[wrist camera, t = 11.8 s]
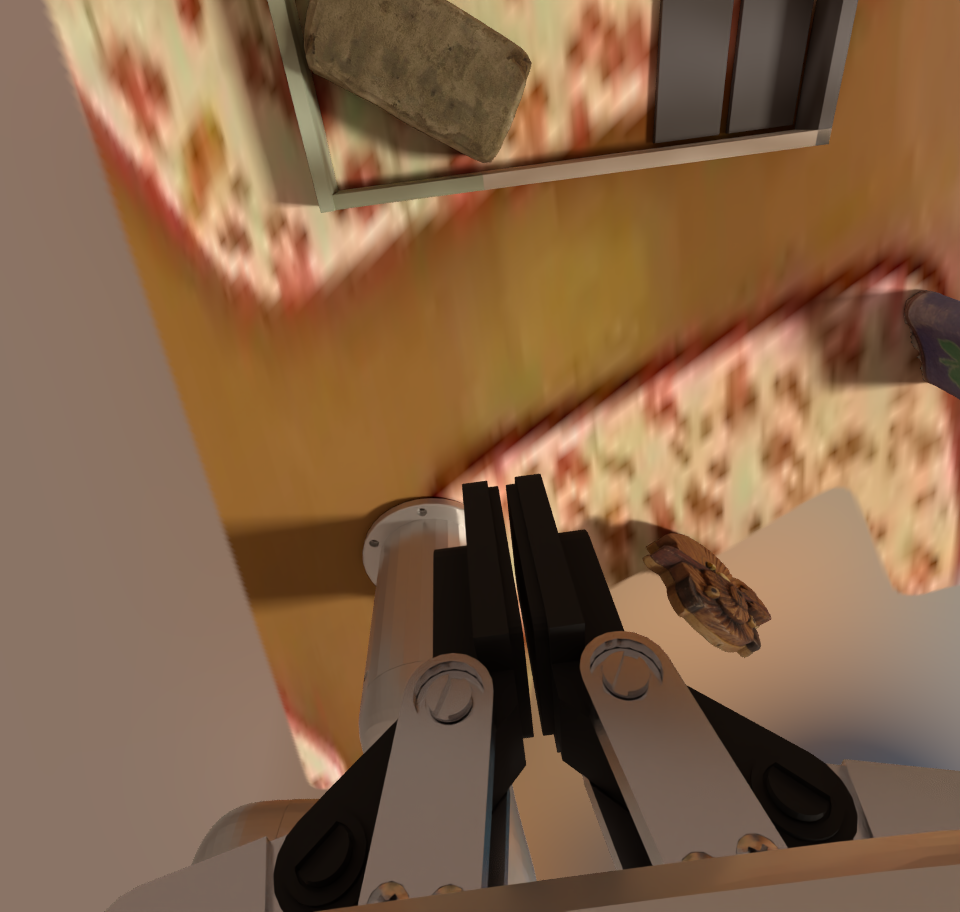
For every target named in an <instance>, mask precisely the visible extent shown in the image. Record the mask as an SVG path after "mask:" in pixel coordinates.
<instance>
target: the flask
mask: <svg viewBox="0 0 960 912" xmlns="http://www.w3.org/2000/svg"><path fill="white" fill-rule="evenodd" d="M921 292H923V293H921ZM921 292H918V293H917V294H916V295H914V296H913V297H912V298H911V299H909V300H907V301H906V308H905V313H904V316H905V323H906V324H907V323H908V324H909V326H910V331H911V336H910V337H911V339H912V341H911V343H912V344H913V347H915V348H916V349H917V350H918V351H919V352H920V353H919V354H920V355H919V356H918V357H917V358H919V359H920V360H921V362H922V366H921V368H920V369H921V370H922V372H923V373H922V375H923V380H924V381H926V382H928V383H930V384H933V385H935V386H937V387H939V388H941V389H942V390H944V391H946V392H947V393H949V394H951V395H953V396H955V397H957V398H958V399H960V301H958V300H955V299H953V298H950V297H947V296H943V295H942V294H939V293H936V292H933V291H928V292H927V290H926V291H921ZM919 293H920V294H919Z"/></svg>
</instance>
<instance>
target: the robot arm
mask: <svg viewBox="0 0 960 912" xmlns="http://www.w3.org/2000/svg"><path fill="white" fill-rule="evenodd" d="M462 490H463V503H464V504H462V503H460V502H457V501H452V500H448V499H439V498H426V499H417V500H413V501H409V502H405V503H402V504H400V505H398V506H395V507H393V508H391V509H390V510H388V511H387V512H385V513H384V514H382V515H381V516H380V517H379V518H378V519H377V520H376V521H375V522H374V523H373V525H372V526H371V528H370V529H369V531H368V533H367V536H366V539H365V541H364V548H363V564H364V567H365V570H366V573H367V575H368V576H369V578H370V580H371V581H372V582H373V583H374V584H375V585H376V590H375V598H374V606H373V614H372V622H371V629H370V637H369V645H368V653H367V661H366V668H365V676H364V684H363V692H362V699H361V706H360V714H359V734H360V741H361V745H362V749H363V753H364V754H363V755H362V756H361V757H360V758H359V759H358V760H357V761H356V762H355V763H354V764H353V765H352V766H351V767H350V768H349V769H348V770H347V771H346V772H345V774H344V775H343V776H342V777H341V778H340V779H339V780H338V781H337V782H336V783H335V784H334V785H333V786H332V787H331V788H330V789H329V790H328V791H327V792H326V793H325V794H324V795H323V796H322V797H321V798H320V799H293V800H272V801H260V802H255V803H250V804H246V805H243V806H240V807H238V808H236V809H234V810H232V811H230V812H229V813H227V814H226V815H224V816H223V817H222V818H221V819H219V820H218V821H217V822H216V824H215V825H213V827H212V828H211V829H210V831H209V832H208V833H207V835H206V836H205V838H204V839H203V841H202V843H201V845H200V846H199V848H198V850H197V852H196V854H195V857H194V859H193V862H192V864H191V866H189V867H186V868H183V869H181V870H178V871H176V872H174V873H171V874H168V875H166V876H163V877H160V878H158V879H155V880H153V881H150V882H148V883H145V884H142V885H140V886H138V887H136V888H134V889H133V890H131V891H129V892H127V893H126V894H124V895H122V896H121V897H119V898H118V899H117V900H116V901H115V902H114V903H113V904H112V905H111V906H110V907H109V908H108V909H107V910H106V911H105V912H960V771H954V770H944V769H934V768H924V767H915V766H905V765H895V764H886V763H876V762H866V761H856V760H846V759H844V760H843V762H842V764H841V765H834V764H825V763H824V762H823V761H821V760H819V759H818V758H817V757H815V756H814V755H812V754H811V753H809V752H808V751H806V750H804V749H802V748H800V747H798V746H797V745H795V744H793V743H791V742H789V741H787V740H785V739H784V738H782V737H780V736H778V735H776V734H775V733H773V732H771V731H769V730H767V729H765V728H764V727H762V726H760V725H758V724H756V723H755V722H753V721H751V720H749V719H747V718H745V717H744V716H742V715H740V714H738V713H736V712H734V711H733V710H731V709H729V708H727V707H725V706H723V705H722V704H720V703H718V702H716V701H714V700H713V699H711V698H709V697H707V696H705V695H703V694H701V693H700V692H698V691H696V690H694V689H692V688H691V687H689V686H687V685H686V684H685V683H684V681H683V679H682V678H681V676H680V675H679V673H678V671H677V670H676V668H675V667H674V665H673V663H672V662H671V660H670V659H669V657H668V656H667V654H666V653H665V652H664V651H663V650H662V649H661V647H660V646H659V645H657V644H656V643H654V642H653V641H652V640H650V639H649V638H647V637H644V636H642V635H639V634H637V633H633V632H625V631H624V629H623V626H622V623H621V621H620V618H619V615H618V612H617V610H616V607H615V605H614V602H613V599H612V596H611V594H610V591H609V588H608V585H607V583H606V580H605V577H604V575H603V572H602V569H601V567H600V564H599V561H598V558H597V556H596V553H595V550H594V548H593V545H592V542H591V540H590V537H589V535H588V532H587V531H586V530H578V531H570V532H563V533H558V531H557V527H556V524H555V521H554V517H553V514H552V511H551V507H550V504H549V501H548V497H547V494H546V491H545V487H544V484H543V480H542V477H541V474H534V475H526V476H519V477H515V484H510V485H506V492H507V501H508V511H509V520H510V529H511V539H512V548H513V557H514V567H515V576H516V584H517V590H518V596H519V602H520V608H521V613H522V619H523V625H524V630H525V636H526V642H527V648H528V653H529V659H530V665H531V671H532V676H533V682H534V688H535V693H536V699H537V705H538V711H539V716H540V722H541V727H542V733H543V735H544V736H545V735H552V734H554V737H555V743H556V748H557V752H561V755H562V760H563V761H564V762H566V763H567V764H568V765H570V766H571V767H572V768H574V769H575V770H577V771H578V772H579V773H581V774H582V776H583V780H584V785H585V788H586V790H587V793H588V796H589V798H590V801H591V804H592V807H593V809H594V812H595V814H596V817H597V820H598V823H599V825H600V828H601V830H602V833H603V836H604V839H605V841H606V844H607V847H608V849H609V852H610V855H611V857H612V860H613V863H614V865H615V868H616V871H609V872H603V873H595V874H587V875H579V876H572V877H565V878H557V879H549V880H542V881H536V876H535V871H534V867H533V863H532V859H531V856H530V852H529V848H528V845H527V841H526V838H525V835H524V831H523V827H522V823H521V819H520V816H519V812H518V808H517V804H516V800H515V796H514V791H513V786H512V783H513V782H514V780H515V779H516V778H517V777H518V775H519V774H520V773H521V771H522V770H523V768H524V767H525V766H526V760H525V752H524V744H523V738H530V737H534V734H533V724H532V714H531V705H530V695H529V685H528V676H527V666H526V657H525V647H524V638H523V631H522V624H521V618H520V612H519V606H518V600H517V594H516V588H515V582H514V576H513V571H512V565H511V559H510V553H509V547H508V541H507V536H506V530H505V524H504V518H503V512H502V506H501V500H500V495H499V489H498V486H495V487H488V483H487V481H481V482H474V483H466V484H462Z"/></svg>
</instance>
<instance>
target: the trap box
mask: <svg viewBox="0 0 960 912" xmlns="http://www.w3.org/2000/svg"><path fill="white" fill-rule="evenodd" d="M267 1H268V5H269V9H270V13H271V17H272V21H273V25H274V29H275V33H276V37H277V41H278V45H279V49H280V53H281V57H282V60H283V64H284V68H285V72H286V76H287V80H288V84H289V88H290V92H291V96H292V100H293V104H294V108H295V112H296V116H297V120H298V124H299V128H300V132H301V136H302V140H303V144H304V148H305V152H306V156H307V160H308V164H309V168H310V172H311V176H312V180H313V184H314V188H315V192H316V196H317V200H318V204H319V208H320V212H321V213H324V212H331V211H335V210H339V209H346V208H354V207H361V206H369V205H376V204H383V203H391V202H398V201H406V200H413V199H421V198H428V197H436V196H443V195H451V194H458V193H465V192H473V191H480V190H488V189H495V188H503V187H510V186H518V185H525V184H533V183H540V182H548V181H555V180H562V179H570V178H577V177H585V176H592V175H600V174H607V173H615V172H622V171H630V170H637V169H645V168H652V167H659V166H667V165H674V164H682V163H689V162H697V161H704V160H712V159H719V158H727V157H734V156H742V155H749V154H756V153H764V152H771V151H779V150H786V149H794V148H801V147H809V146H816V145H824V144H829V139H830V134H831V129H832V124H833V120H834V115H835V110H836V105H837V100H838V95H839V90H840V85H841V81H842V76H843V71H844V66H845V61H846V56H847V51H848V47H849V42H850V37H851V32H852V27H853V22H854V17H855V12H856V8H857V3H858V0H817V1H816V7H815V13H814V19H813V24H812V30H811V36H810V42H809V48H808V53H807V59H806V65H805V71H804V76H803V82H802V88H801V94H800V99H799V105H798V111H797V117H796V123H795V128H794V130H787V131H780V132H772V133H765V134H757V135H750V136H742V137H735V138H727V139H720V140H712V141H705V142H698V143H690V144H683V145H675V146H668V147H660V148H653V149H645V150H638V151H630V152H623V153H615V154H608V155H601V156H593V157H586V158H578V159H571V160H563V161H556V162H548V163H541V164H533V165H526V166H519V167H511V168H504V169H496V170H489V171H481V172H474V173H466V174H459V175H451V176H444V177H436V178H429V179H422V180H414V181H407V182H399V183H392V184H384V185H377V186H369V187H362V188H354V189H347V190H338V186H337V182H336V177H335V173H334V169H333V164H332V160H331V156H330V151H329V147H328V143H327V138H326V134H325V130H324V125H323V121H322V117H321V112H320V108H319V103H318V99H317V95H316V90H315V86H314V82H313V77H312V73H311V70H310V69H309V66H308V63H307V60H306V54H305V49H304V38H303V34H302V30H301V25H300V21H299V17H298V12H297V8H296V4H295V0H267ZM813 2H814V0H741V5H740V14H739V22H738V31H737V40H736V48H735V57H734V66H733V74H732V83H731V92H730V101H729V109H728V118H727V127H726V133H735V132H743V131H750V130H758V129H765V128H773V127H780V126H788V125H793V119H794V113H795V108H796V102H797V96H798V90H799V84H800V78H801V72H802V67H803V61H804V55H805V49H806V43H807V37H808V32H809V26H810V20H811V14H812V8H813ZM733 3H734V0H661V2H660V21H659V40H658V59H657V78H656V97H655V116H654V135H653V143H661V142H668V141H676V140H683V139H691V138H698V137H706V136H713V135H719V131H720V122H721V113H722V104H723V95H724V85H725V76H726V67H727V58H728V49H729V40H730V31H731V21H732V12H733Z"/></svg>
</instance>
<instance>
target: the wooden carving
mask: <svg viewBox="0 0 960 912" xmlns="http://www.w3.org/2000/svg"><path fill="white" fill-rule="evenodd" d="M646 548H647V550H648V551H649V553H650V555H647V556H645V557H643V561H644V563H645V564H646V566H647V567H648V568H649V569H650V570H652V571H653V572H655V573H656V574H658V575H659V576H660V577H661V579H662V581H663V582H664V584H665V586H666V588H667V596H668V599H669V601H670V604H671V605H672V607H673V609H674V611H675V612H676V613H677V614H678V616H680V617H683V618H684V619H685V620H686V621H687V622H688V623H689V624H690V625H691V627H693V629H695V630H696V631H697V632H698V633H699V634H701V635H702V636H703V637H704V638H705V639H706V640H707V641H708V642H709V643H711V644H712V645H714V646H715V647H717V648H719V649H721V650H723V651H725V652H737V653H738V654H740V656H742V657H744V658H745V657H748V656H749V655H751V654H752V653H753V652H755V651H757V650H759V649H760V647H761V643H760V639H759V635H758V632H757V630H756V629H757V628H758V627H759V626H760V625H761V624H763V623H765V622H767V621H769V620H771V616H770V614H769V612H768V610H767V608H766V607H765V605H764V604H763V602H762V601H761V600H760V599H759V598H758V597H757V596H756V594H755V592H754V591H753V590H752V589H751V588H749V587H748V586H747V585H746V584H745V583H743V582H742V581H740V580H739V579H736V578H732V575H731V574H730V573H729V570H728V569H727V568H726V567H725V565H724V564H723V563H722V562H720V560H719V559H718V558H717V557H716V556H715V555H714V554H712V553H711V552H710V551H709V550H708V549H707V548H705V547H703V546H702V545H701V544H699V543H698V542H696V541H694V540H693V539H691V538H690V537H687V536H685V535H682V534H677V533H669V534H667V535H664V536H663V537H662V538H660V539H659V540H657V541H654V542H653V543H651V544H650V545H648V546H646Z"/></svg>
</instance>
